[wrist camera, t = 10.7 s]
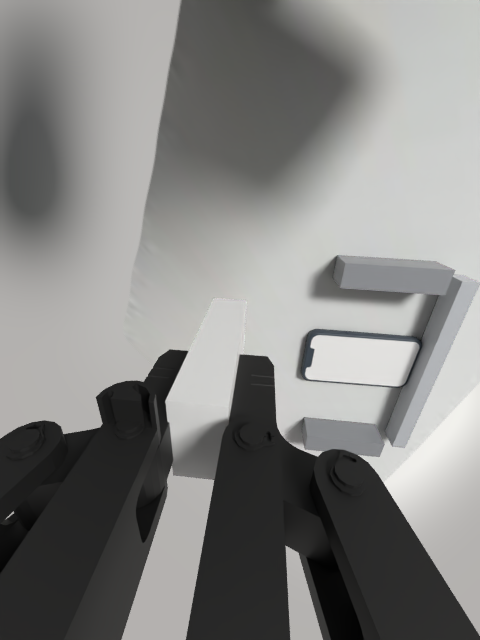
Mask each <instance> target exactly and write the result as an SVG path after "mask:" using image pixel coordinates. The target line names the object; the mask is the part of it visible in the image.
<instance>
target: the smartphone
mask: <svg viewBox="0 0 480 640" xmlns="http://www.w3.org/2000/svg"><path fill="white" fill-rule="evenodd" d="M421 348H422V343H421V341H420V340H419V339H418V338H416V337H413V336H401V335H389V334H376V333H364V332H351V331H337V330H324V329H314V330H312V331H310V332H309V333H308V335H307V340H306V346H305V351H304V357H303V362H302V367H301V373H302V377H303V378H304V379H305V380H309V381H320V382H333V383H345V384H358V385H371V386H383V387H396V388H399V387H403V386H405V385H406V384H407V382H408V380H409V378H410V375H411V373H412V370H413V368H414V365H415V363H416V361H417V358H418V356H419V353H420V351H421Z"/></svg>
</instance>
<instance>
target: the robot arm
mask: <svg viewBox="0 0 480 640" xmlns="http://www.w3.org/2000/svg"><path fill="white" fill-rule="evenodd" d="M246 307H247V300H237V299H223V298H213V301H212V303H211V305H210V307H209V309H208V311H207V313H206V315H205V318H204V320H203V322H202V324H201V326H200V328H199V330H198V333H197V335H196V337H195V339H194V341H193V343H192V345H191V347H190V350H189V351H181V350H169V351H167V352H166V353H164V354H163V355H162V356H160V357H159V358H158V360H157V362H156V363H155V365H154V366H153V369H152V370H151V371H150V373H149V374H148V377H146V379H145V381H144V382H141V381H125V382H121V383H117V384H114V385H112V386H110V387H108V388H106V389H105V390H103V391H102V392H101V393H100V394H99V395H98V396H97V397H96V399H97V403H98V407H99V411H100V415H101V418H102V422H103V424H102V426H101V427H100V428H96V429H92V430H86V431H80V432H74V433H68V434H63V432H62V429H61V426H59V425H58V424H56V423H55V422H50V421H38V422H32V423H29V424H26V425H24V426H21V427H18V428H17V429H15V430H13V431H12V432H10V433H8V434H7V435H5V436H4V437H2V438H1V439H0V640H121V639H122V635H123V632H124V629H125V626H126V623H127V620H128V616H129V613H130V610H131V607H132V604H133V601H134V598H135V595H136V591H137V588H138V585H139V582H140V579H141V576H142V572H143V569H144V566H145V563H146V560H147V557H148V554H149V551H150V547H151V544H152V541H153V538H154V535H155V531H156V529H157V525H158V522H159V519H160V516H161V512H162V510H163V506H164V503H165V500H166V497H167V489H168V487H167V477H168V474H169V472H170V469H171V466H172V467H173V475H176V476H185V477H195V478H203V479H212V480H214V486H213V492H212V497H211V503H210V508H209V514H208V519H207V525H206V530H205V536H204V542H203V547H202V553H201V558H200V564H199V570H198V576H197V581H196V587H195V592H194V598H193V603H192V609H191V614H190V620H189V626H188V631H187V637H186V640H290V627H289V609H288V588H287V568H286V548H285V545H286V546H288V547H290V548H292V549H293V550H295V551H297V552H299V555H300V559H301V563H302V566H303V570H304V573H305V577H306V581H307V584H308V587H309V591H310V595H311V598H312V602H313V605H314V608H315V612H316V615H317V619H318V623H319V626H320V630H321V633H322V637H323V640H480V636H479V634H478V633H477V631H476V630H475V628H474V626H473V625H472V623H471V621H470V620H469V618H468V617H467V615H466V614H465V612H464V610H463V609H462V607H461V606H460V604H459V602H458V601H457V599H456V598H455V596H454V595H453V593H452V592H451V590H450V588H449V587H448V585H447V584H446V582H445V580H444V579H443V577H442V575H441V574H440V572H439V571H438V569H437V568H436V566H435V565H434V563H433V561H432V560H431V558H430V556H429V555H428V553H427V552H426V550H425V548H424V547H423V545H422V544H421V542H420V541H419V539H418V538H417V536H416V534H415V533H414V531H413V530H412V528H411V526H410V525H409V523H408V522H407V520H406V518H405V517H404V515H403V514H402V512H401V510H400V509H399V507H398V506H397V504H396V503H395V501H394V499H393V498H392V496H391V495H390V493H389V492H388V490H387V488H386V487H385V485H384V483H383V482H382V480H381V479H380V477H379V475H378V474H377V473H376V471H375V470H374V469H373V468H372V467H371V466H370V464H369V463H368V462H366V461H365V460H364V459H362V458H361V457H359V456H358V455H357V454H354V453H351V452H349V451H346V450H341V449H331V450H328V451H325V452H322V453H321V454H320V455H319V457H317V456H314V455H312V454H309V453H307V452H304V451H302V450H300V449H298V448H296V447H294V446H292V445H291V444H290V443H288V442H287V441H286V440H285V439H284V438H283V436H282V435H281V434H280V432H279V430H278V428H277V423H276V405H275V382H274V365H273V364H272V362H271V361H270V359H269V358H268V357H266V356H254V355H244V342H245V325H246ZM13 511H14V514H13V515H11V516H10V517H9V518H7V517H8V516H9V515H10V514H11V513H12V512H13ZM6 518H7V519H6Z"/></svg>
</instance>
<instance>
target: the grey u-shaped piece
mask: <svg viewBox="0 0 480 640" xmlns="http://www.w3.org/2000/svg"><path fill="white" fill-rule="evenodd" d="M454 272H455V270H454V269H451V268H449V267H447V266H445V265H442V264H440V263H438V262H435V261H421V260H405V259H389V258H373V257H357V256H341V255H337V259H336V264H335V269H334V274H333V279H334V280H335V282H336V283H337V285H338V286H339V287H340V288H346V289H360V290H374V291H389V292H403V293H418V294H432V295H439V296H438V299H437V301H436V304H435V306H434V309H433V311H432V314H431V316H430V319H429V322H428V324H427V327H426V329H425V332H424V334H423V337H422V339H421V343H422V348H421V351H420V353H419V356H418V358H417V361H416V363H415V365H414V368H413V370H412V373H411V375H410V378H409V380H408V382H407V384H406V385H405V386H403V387H402V390H401V392H400V395H399V397H398V400H397V402H396V405H395V408H394V410H393V413H392V415H391V418H390V420H389V423H388V425H387V428H386V430H385V433H386V435H387V437H388V439H389V441H390V443H391V445H392V447H401V448H405V447H406V444H407V442H408V440H409V438H410V436H411V433H412V431H413V429H414V427H415V425H416V423H417V420H418V418H419V416H420V414H421V412H422V409H423V407H424V405H425V403H426V401H427V399H428V396H429V394H430V392H431V390H432V388H433V385H434V383H435V381H436V379H437V377H438V375H439V372H440V370H441V368H442V366H443V364H444V361H445V359H446V357H447V355H448V353H449V351H450V348H451V346H452V344H453V342H454V340H455V337H456V335H457V333H458V331H459V329H460V327H461V324H462V322H463V320H464V318H465V316H466V313H467V311H468V309H469V307H470V305H471V303H472V300H473V298H474V296H475V294H476V292H477V289H478V287H479V285H480V282H478V281H476V280H473V279H471V278H469V277H467V276H464V275H454ZM302 434H303V441H304V448H305V449H307V450H316V451H328V450H331V449H341V450H346V451H349V452H351V453H354V454H357V455H365V456H374V457H380V454H381V452H382V449H383V447H384V442H383V440H382V438H381V435H380V433H379V431H378V429H377V427H376V425H375V424H367V423H357V422H347V421H336V420H326V419H316V418H305V417H304V422H303V426H302Z"/></svg>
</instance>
